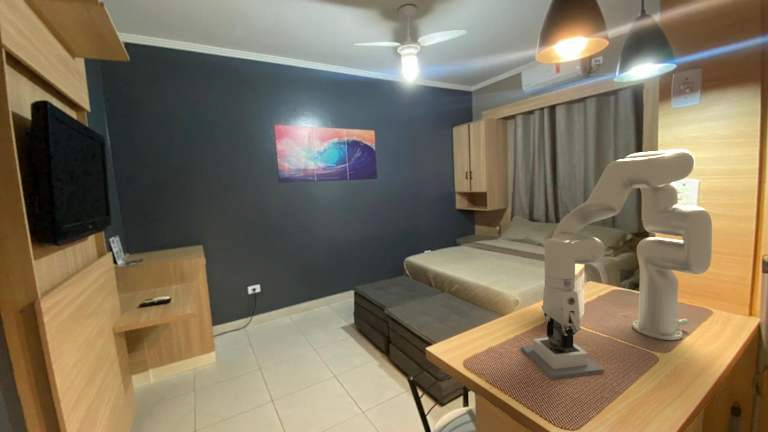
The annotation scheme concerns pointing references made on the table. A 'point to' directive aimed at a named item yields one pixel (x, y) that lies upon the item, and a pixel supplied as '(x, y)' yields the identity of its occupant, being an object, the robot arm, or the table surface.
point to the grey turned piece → (557, 339)
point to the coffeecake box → (580, 286)
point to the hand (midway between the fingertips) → (559, 341)
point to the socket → (560, 360)
